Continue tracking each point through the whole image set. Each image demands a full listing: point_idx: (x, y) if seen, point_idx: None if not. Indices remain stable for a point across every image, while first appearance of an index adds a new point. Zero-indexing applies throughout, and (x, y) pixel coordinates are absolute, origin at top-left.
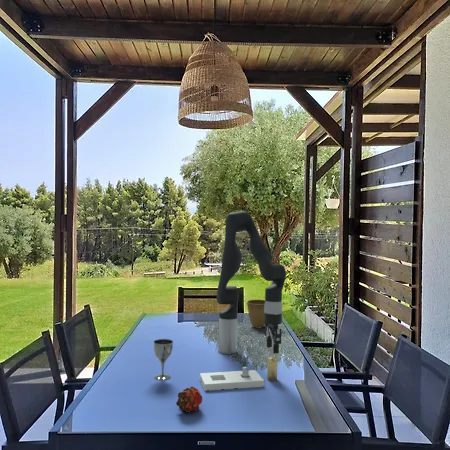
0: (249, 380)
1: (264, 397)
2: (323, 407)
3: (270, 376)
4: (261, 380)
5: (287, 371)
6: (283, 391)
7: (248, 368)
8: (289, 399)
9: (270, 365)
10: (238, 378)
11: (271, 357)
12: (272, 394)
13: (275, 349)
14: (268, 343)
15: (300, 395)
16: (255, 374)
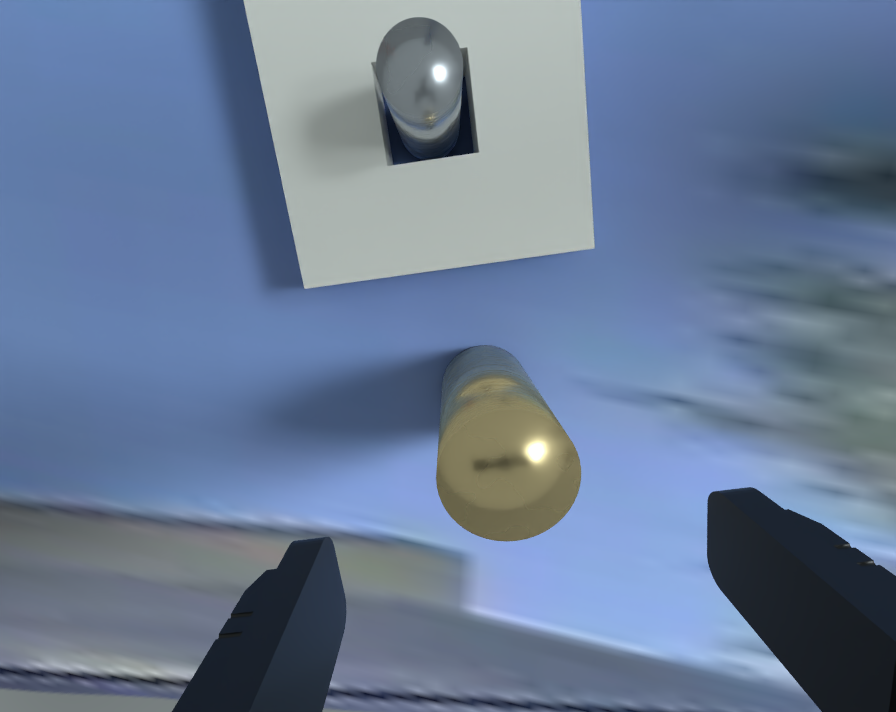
0: (297, 136)
1: (104, 251)
2: (7, 604)
3: (448, 375)
4: (301, 264)
5: (647, 540)
6: (237, 422)
7: (399, 111)
8: (95, 432)
9: (448, 408)
10: (350, 10)
11: (531, 467)
12: (171, 327)
13: (226, 631)
14: (769, 569)
15: (176, 520)
16: (464, 230)
